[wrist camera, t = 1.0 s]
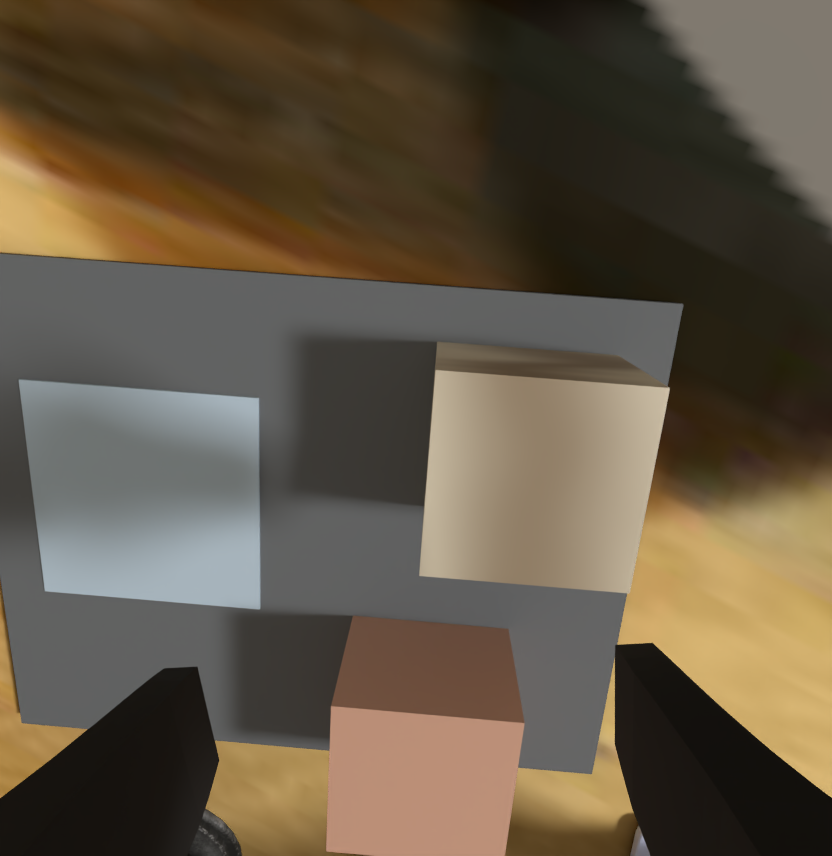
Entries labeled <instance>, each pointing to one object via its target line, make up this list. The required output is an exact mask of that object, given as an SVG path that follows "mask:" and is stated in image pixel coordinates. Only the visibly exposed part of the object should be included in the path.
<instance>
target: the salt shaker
mask: <svg viewBox="0 0 832 856" xmlns="http://www.w3.org/2000/svg"><path fill="white" fill-rule="evenodd" d="M187 856H242V854H241V848H240V845H239V843H238V841H237V839H236V837H235V835H234V833H233V832H232V831H231V829H230V828H229V827H228V826H227V825H226V824H225V823H224V822H223V821H222V820H221V819H220V818H218V817H217V816H215V815H214V814H212V813H211V812H210V811H208V810H206V809H205V811H204V814H203V817H202V820H201V823H200V826H199V828H198V831H197V833H196V836H195V838H194V841H193V843H192V845H191V848H190V850H189V853H188V855H187Z"/></svg>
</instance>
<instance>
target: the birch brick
mask: <svg viewBox="0 0 832 856" xmlns="http://www.w3.org/2000/svg"><path fill="white" fill-rule="evenodd" d="M669 390H670V388H669V387H668V386H666V385H664V384H663V383H661V382H660V381H658V380H656V379H655V378H653V377H652V376H650V375H648V374H647V373H645V372H644V371H642V370H641V369H639V368H637V367H636V366H634V365H633V364H631V363H629V362H628V361H626V360H625V359H623V358H622V357H620V356H618V355H608V354H595V353H582V352H568V351H555V350H542V349H529V348H515V347H502V346H489V345H476V344H462V343H449V342H437V350H436V363H435V375H434V388H433V401H432V413H431V426H430V438H429V451H428V464H427V476H426V489H425V501H424V515H423V529H422V543H421V557H420V571H419V576H426V577H438V578H450V579H462V580H474V581H486V582H498V583H510V584H522V585H534V586H546V587H558V588H570V589H582V590H594V591H606V592H618V593H630V589H631V584H632V579H633V574H634V568H635V563H636V558H637V553H638V548H639V543H640V538H641V533H642V528H643V523H644V517H645V512H646V507H647V502H648V497H649V492H650V487H651V482H652V477H653V472H654V467H655V461H656V456H657V451H658V446H659V441H660V436H661V431H662V426H663V421H664V416H665V410H666V405H667V400H668V395H669Z"/></svg>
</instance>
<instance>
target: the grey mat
mask: <svg viewBox="0 0 832 856" xmlns="http://www.w3.org/2000/svg"><path fill="white" fill-rule="evenodd" d="M682 309H683V304H681V303H674V302H660V301H646V300H633V299H619V298H606V297H592V296H579V295H565V294H551V293H538V292H524V291H511V290H497V289H484V288H470V287H456V286H443V285H429V284H416V283H402V282H389V281H375V280H361V279H348V278H334V277H321V276H307V275H294V274H280V273H266V272H253V271H239V270H226V269H212V268H198V267H185V266H171V265H158V264H144V263H131V262H117V261H103V260H90V259H76V258H63V257H49V256H36V255H22V254H8V253H0V579H1V586H2V593H3V599H4V606H5V613H6V620H7V626H8V633H9V640H10V647H11V653H12V660H13V667H14V674H15V680H16V687H17V694H18V701H19V707H20V714H21V721H22V723H27V724H38V725H49V726H61V727H72V728H83V729H89V728H90V727H92V726H93V725H94V724H95V723H96V722H98V721H99V720H100V719H101V718H103V717H104V716H105V715H106V714H107V713H109V712H110V711H111V710H112V709H113V708H115V707H116V706H117V705H118V704H119V703H121V702H122V701H123V700H124V699H125V698H127V697H128V696H129V695H130V694H132V693H133V692H134V691H135V690H136V689H138V688H139V687H140V686H141V685H143V684H144V683H145V682H146V681H148V680H149V679H150V678H152V677H153V676H154V675H156V674H157V673H158V672H160V671H161V670H162V669H164V668H178V667H198V671H199V675H200V680H201V684H202V688H203V693H204V697H205V701H206V706H207V710H208V714H209V719H210V723H211V727H212V732H213V736H214V740H217V741H228V742H239V743H250V744H261V745H273V746H284V747H295V748H306V749H317V750H328V751H330V723H331V704H332V700H333V696H334V692H335V688H336V684H337V680H338V675H339V671H340V667H341V663H342V659H343V655H344V651H345V647H346V642H347V638H348V634H349V630H350V626H351V622H352V618H353V616H364V617H375V618H387V619H399V620H411V621H422V622H434V623H446V624H458V625H469V626H481V627H493V628H505V629H509V635H510V641H511V647H512V652H513V658H514V664H515V670H516V676H517V682H518V687H519V693H520V699H521V705H522V711H523V717H524V722H525V724H524V731H523V738H522V744H521V751H520V758H519V764H518V768H529V769H540V770H552V771H563V772H574V773H585V774H592V770H593V765H594V760H595V755H596V750H597V745H598V740H599V735H600V729H601V724H602V719H603V714H604V709H605V704H606V699H607V693H608V688H609V683H610V678H611V673H612V668H613V663H614V658H615V645H617V642H618V637H619V632H620V627H621V622H622V616H623V611H624V606H625V601H626V596H627V593H618V592H606V591H594V590H582V589H570V588H558V587H546V586H534V585H522V584H510V583H498V582H486V581H474V580H462V579H450V578H438V577H426V576H419V571H420V557H421V543H422V529H423V515H424V501H425V489H426V476H427V464H428V451H429V438H430V426H431V413H432V401H433V388H434V375H435V363H436V350H437V342H449V343H462V344H476V345H489V346H502V347H515V348H529V349H542V350H555V351H568V352H582V353H595V354H608V355H618V356H620V357H622V358H623V359H625V360H626V361H628V362H629V363H631V364H633V365H634V366H636V367H637V368H639V369H641V370H642V371H644V372H645V373H647V374H648V375H650V376H652V377H653V378H655V379H656V380H658V381H660V382H661V383H663V384H664V385H666V386H668V380H669V375H670V370H671V365H672V360H673V355H674V350H675V344H676V339H677V334H678V329H679V324H680V319H681V314H682Z"/></svg>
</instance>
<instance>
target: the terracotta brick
mask: <svg viewBox="0 0 832 856" xmlns="http://www.w3.org/2000/svg"><path fill="white" fill-rule="evenodd" d="M524 724H525V722H524V717H523V711H522V705H521V699H520V693H519V687H518V682H517V676H516V670H515V664H514V658H513V652H512V647H511V641H510V635H509V629H505V628H493V627H481V626H469V625H458V624H446V623H434V622H422V621H411V620H399V619H387V618H375V617H364V616H353V618H352V622H351V626H350V630H349V634H348V638H347V642H346V647H345V651H344V655H343V659H342V663H341V667H340V671H339V675H338V680H337V684H336V688H335V692H334V696H333V700H332V704H331V723H330V752H329V781H328V810H327V839H326V851H327V852H338V853H349V854H360V855H370V856H505V851H506V845H507V838H508V831H509V825H510V818H511V811H512V805H513V798H514V791H515V784H516V778H517V771H518V764H519V758H520V751H521V744H522V738H523V731H524Z"/></svg>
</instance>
